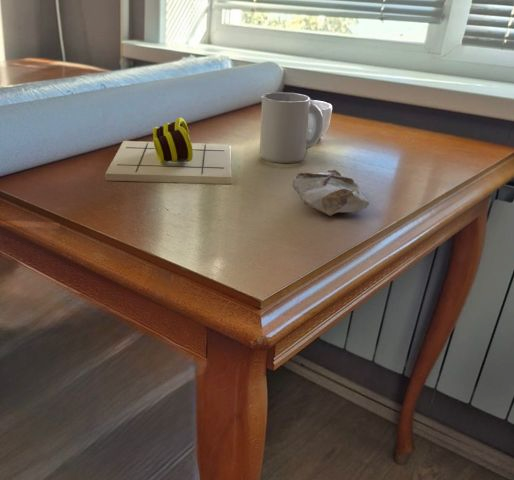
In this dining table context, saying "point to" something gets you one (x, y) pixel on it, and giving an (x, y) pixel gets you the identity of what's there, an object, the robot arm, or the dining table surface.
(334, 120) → the dining table surface
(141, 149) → the board
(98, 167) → the dining table surface
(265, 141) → the cup
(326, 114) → the teacup
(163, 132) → the opera glasses
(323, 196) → the stone
